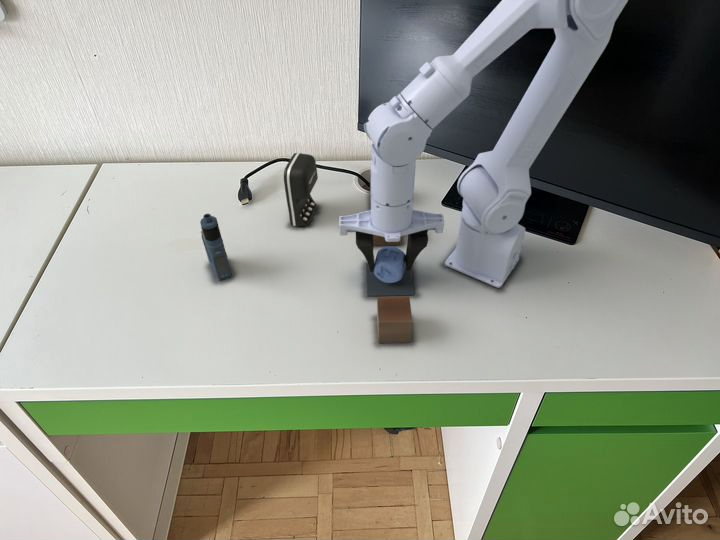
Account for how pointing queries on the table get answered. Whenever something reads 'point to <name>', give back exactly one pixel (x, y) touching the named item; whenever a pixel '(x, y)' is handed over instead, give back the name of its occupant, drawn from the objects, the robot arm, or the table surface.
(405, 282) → the pad
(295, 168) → the battery charger
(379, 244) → the block mid
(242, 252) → the table surface
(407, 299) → the block near
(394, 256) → the decorative dice
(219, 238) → the vaping device
